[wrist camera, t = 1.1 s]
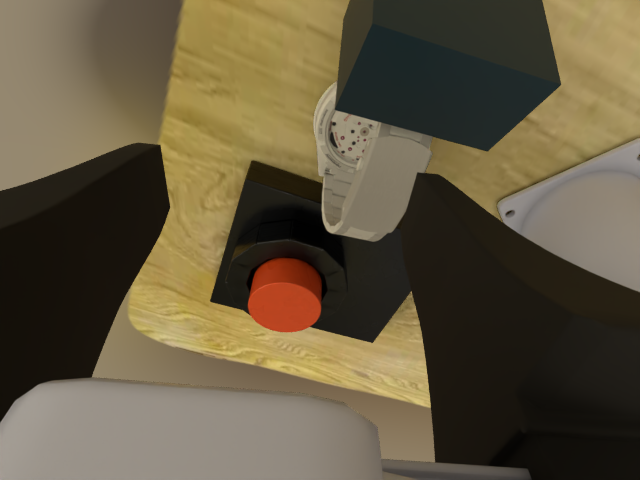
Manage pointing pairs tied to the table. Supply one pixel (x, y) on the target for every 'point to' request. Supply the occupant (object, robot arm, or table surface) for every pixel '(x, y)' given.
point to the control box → (311, 254)
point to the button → (285, 295)
